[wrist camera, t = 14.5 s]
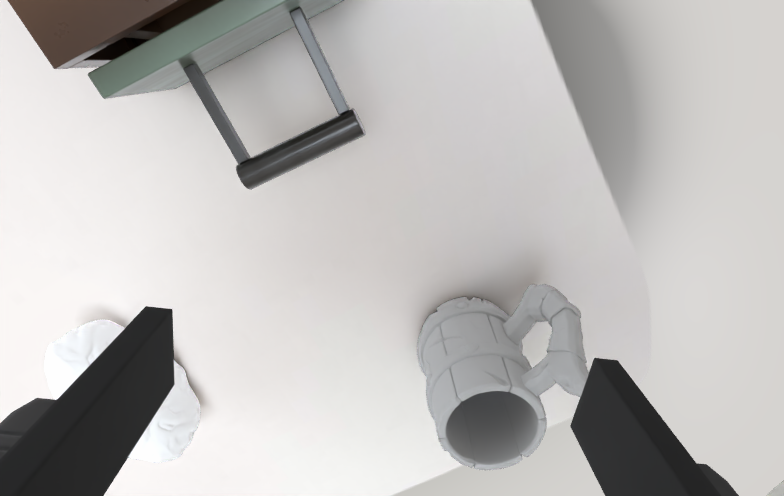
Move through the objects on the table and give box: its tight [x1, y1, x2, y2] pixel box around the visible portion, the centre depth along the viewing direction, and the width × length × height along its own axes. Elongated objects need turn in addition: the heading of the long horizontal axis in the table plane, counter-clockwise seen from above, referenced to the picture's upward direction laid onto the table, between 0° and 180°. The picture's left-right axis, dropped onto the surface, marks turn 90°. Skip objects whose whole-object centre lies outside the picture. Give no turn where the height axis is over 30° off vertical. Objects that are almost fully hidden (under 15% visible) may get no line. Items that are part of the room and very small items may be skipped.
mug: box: [417, 284, 589, 470], centre depth 31 cm, size 8×12×12 cm, turn 137°
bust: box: [44, 319, 201, 463], centre depth 33 cm, size 12×8×11 cm
